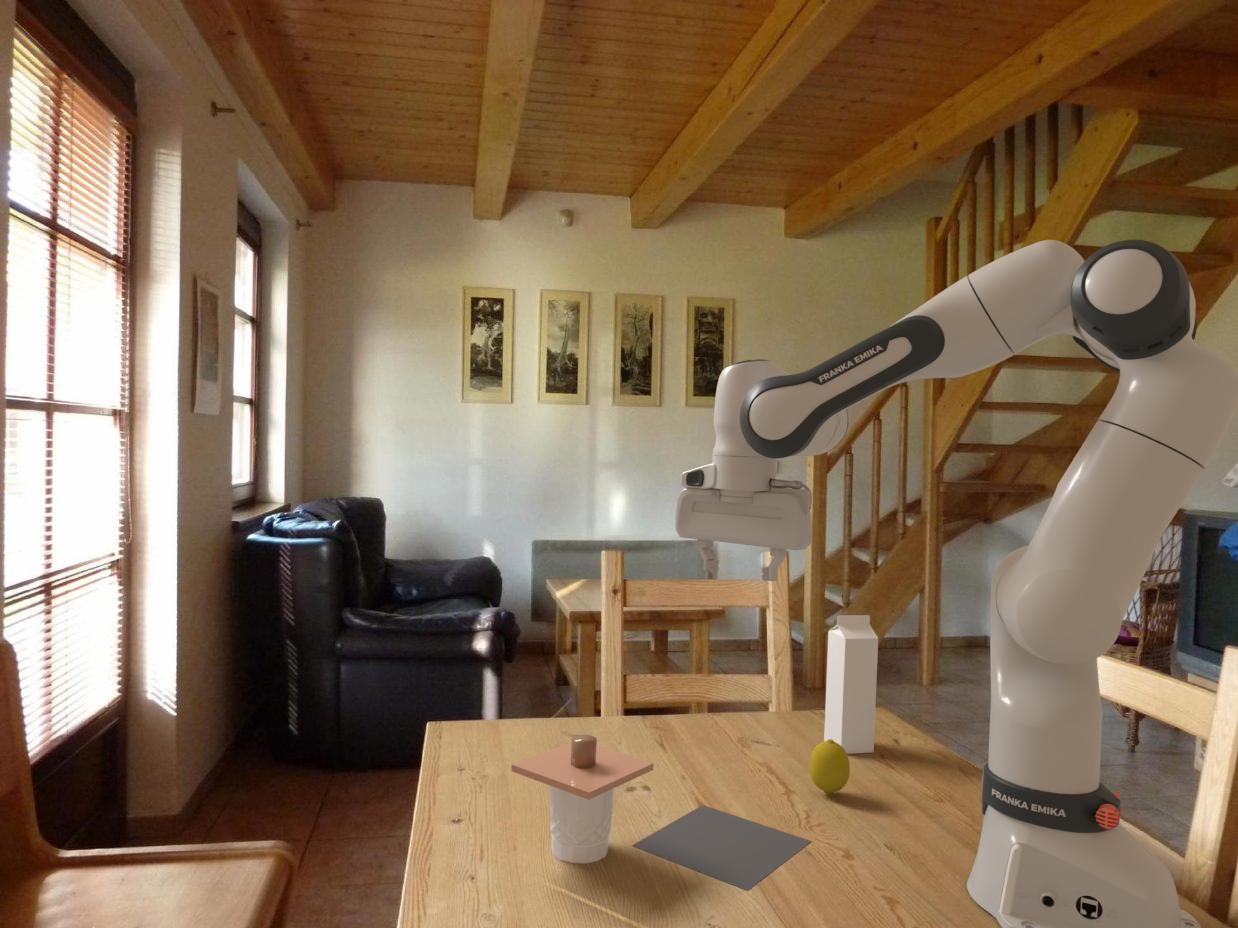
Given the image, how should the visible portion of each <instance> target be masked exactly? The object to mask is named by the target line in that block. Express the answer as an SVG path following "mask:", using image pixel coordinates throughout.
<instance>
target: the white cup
mask: <svg viewBox="0 0 1238 928" xmlns="http://www.w3.org/2000/svg"><path fill="white" fill-rule="evenodd" d="M614 793H615V788H613V789H611V790H609V791H607V792H604V793H602V794H600V795H598V796H596V797H594V798H592V799H589V800H588V799H585V798H583V797H580V796H577V795H574V794H572V793H569V792H566V791H564V790H561V789H558V788H555V787H553V786H550V785H549V817H550V818H549V823H550V824H549V825H550V827H549V828H550V833H551V835H550V836H551V837H550V839H551V842H550V843H551V844H550V845H551V848H550V849H551V853H552V854H553V855H552V856H554V857H555V858H557V859H559V860H560V861H562V862H567V863H571V864H589V863H594V862H598V861H600V860H602V859H604V858H605V857H607V854H608V852H609V845H610V844H609V843H610V833H611V828H612V817H613V808H614V797H615V796H614Z"/></svg>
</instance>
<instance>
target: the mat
mask: <svg viewBox="0 0 1238 928" xmlns="http://www.w3.org/2000/svg"><path fill="white" fill-rule="evenodd" d="M811 843H812V840H809V839H807V838H804V837H801V836H797V835H794V834H791V833H788V832H787V831H786V832H785V831H782V830H780V829H776V828H773V827H770V826H768V825H764V824H761V823H758V822H755V821H752V820H749V819H746V818H743V817H740V816H737V815H734V814H732V813H728V812H725V811H722V810H719V809H716V808H713V807H710V806H707V805H704V804H702V805H700V806H698V807H697V808H695V809H693V810H691V811H690V812H688V813H686V814H684V815H683V816H681V817H679V818H677V819H676V820H673V821H672V822H670V823H669V824H667V825H665V826H664V827H661V828H659V829H658V830H656V831H654V832H652V833H651V834H649V835H648V836H646V837H644V838H642V839H641V840H639V841H637V842H635V843H634V844H631V847H634V848H636V849H638V850H642V851H644V852H647V853H650V854H651V855H654V856H657V857H659V858H662V859H664V860H667V861H669V862H672V863H675V864H677V865H680V866H682V867H685V868H687V869H691V871H692V870H693V871H695V872H697V873H700V874H703V875H706V876H708V877H711V878H713V879H715V880H718V881H721V882H723V883H726V884H729V885H731V886H734V887H736V888H739V889H740V890H741V889H742V890H744V891H746V892H748V891H750V890H751V889H753V888H754V887H755V886H756V885H758V884H759V883H760V882H761V881H762V880H764V879H765V878H766V877H768V876H770V874H771V873H773V872H774V871H776V870H777V869H778V868H779V867H781V866H782V865H783V864H785V863H787V861H789V860H790V859H791V858H792V857H794V856H795V855H796V854H797V853H799V852H800V851H802V850H803V849H804V848H805V847H807V846H808V845H809V844H811Z"/></svg>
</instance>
